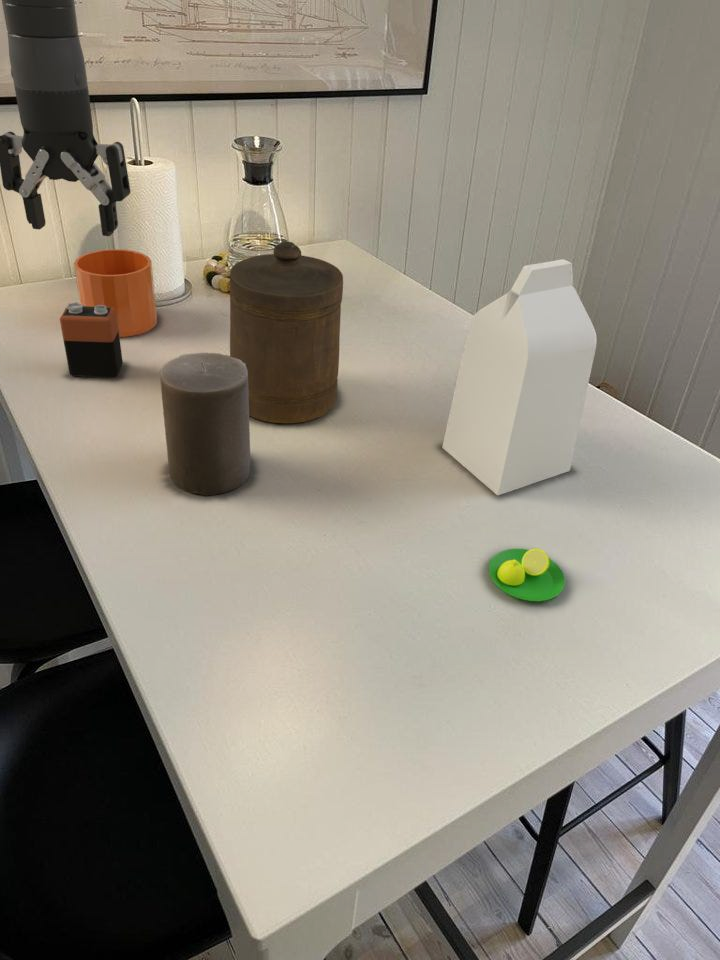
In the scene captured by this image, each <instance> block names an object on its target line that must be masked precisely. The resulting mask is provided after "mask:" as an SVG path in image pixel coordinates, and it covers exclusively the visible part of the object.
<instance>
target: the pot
mask: <svg viewBox="0 0 720 960" xmlns="http://www.w3.org/2000/svg"><path fill="white" fill-rule="evenodd" d="M73 267H74V273H75V279H76V285H77V291H78V297H79V303H81V304H83V306H94V307H95V306H97V305H104V306H106V307H113V308H115V309H116V315H117V322H118V330H119V337H120V338H127V337H134V336H139V335H141V334H145V333H146V332H149V331H151V330H153V328H155V326H156V325H157V323H158V313H157V302H156V293H155V283H154V271H153V262H152V260H151V258H150V256H148V255H147V254H144V253H143V252H140V251H136V250H132V249H131V250H130V249H119V248H111V249H100V250H95V251H94V250H93V251H90V252H86V253H84V254H82V255H80V256H79V257H77V258H76V259H75V260H74V262H73Z"/></svg>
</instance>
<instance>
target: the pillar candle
mask: <svg viewBox="0 0 720 960" xmlns="http://www.w3.org/2000/svg"><path fill="white" fill-rule="evenodd" d="M159 379H160V388H161V389H160V390H161V400H162V401H161V402H162V409H163V413H162V414H163V421H164V422H163V423H164V432H165V443H166V444H165V445H166V454H167V455H166V457H167V465H168V473H169V477H170V479H171V481H172V483H173V484H174V485H175V486H176V487H177V488H178V489H180V490H182V491H185V492H187V493H191V494H196V495H200V496H216V495H220V494H224V493H225V494H226V493H228V492H231V491H233V490H236V489H237V488H240V487H241V486H242V485H244V484H245V483H246V482H247V481H248V479H249V477H250V475H251V468H252V467H251V443H250V442H251V436H250V416H249V394H248V370H247V368H246V364H245V363H243V362H242V361H241V360H239V359H236V358H233V357H230V355H228V354H222V353H216V352H195V353H183V354H181V355H178V357H175V358H172V359H170V360H169V361H167V362H166V363H164V364H163V366H162V367H161V369H160V370H159Z"/></svg>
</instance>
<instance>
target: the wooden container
mask: <svg viewBox="0 0 720 960" xmlns="http://www.w3.org/2000/svg"><path fill="white" fill-rule="evenodd" d="M343 293H344V275H343V273H342V271H341V270H340V269H339V268H338V266H335V265H334V264H332V263H330V262H329V261H325V260H323V259H320V258H316V257H312V256H308V255H302V250H301V248H300V247H299V246H298V245H296V244H295V243H294V242H292V241H281V242H280V243H277V244H276V245H275V246H274V248H273V253H267V254H260V255H255V256H250V257H247V258H244V259H242V260H240V261H238V262H236V263H235V264H234V265H232V267H231V268H230V271H229V305H230V306H229V356H230V357H233V358H236V359H239V360H241V361H242V362H243V363H245V364H246V368H247V370H248V394H249V417H251V418H254V419H256V420H260V421H263V422H267V423H275V424H299V423H300V424H301V423H306V422H311V421H313V420H316V419H319V418H320V417H323V416H324V415H326V414H328V413H329V412H330V411H331V410H332V409H333V408H334V406H335V405H336V402H337V394H338V377H339V368H340V345H341V344H340V341H341V337H340V336H341V314H342V313H341V312H342V311H341V309H342V302H343Z"/></svg>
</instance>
